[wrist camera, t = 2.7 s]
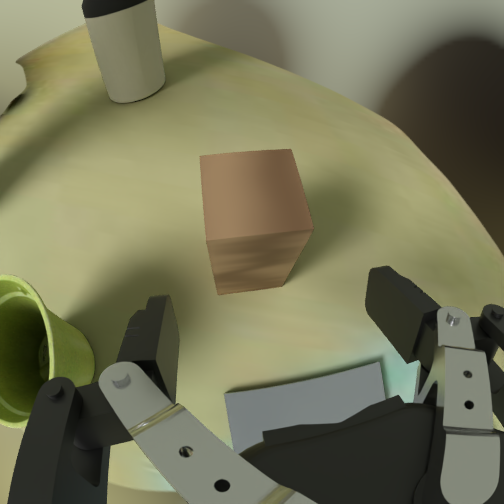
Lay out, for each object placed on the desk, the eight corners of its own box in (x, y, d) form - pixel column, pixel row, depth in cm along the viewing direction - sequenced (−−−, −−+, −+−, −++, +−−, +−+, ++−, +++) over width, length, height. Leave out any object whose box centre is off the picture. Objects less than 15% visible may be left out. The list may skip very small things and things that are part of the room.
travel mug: (149, 106, 30) (122, -28, 13) (98, 104, 30) (61, -11, 14) (175, 72, 33) (163, -44, 16) (127, 71, 33) (105, -32, 17)
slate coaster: (249, 522, 15) (249, 527, 14) (224, 392, 19) (224, 394, 19) (388, 485, 16) (392, 487, 15) (375, 362, 21) (379, 361, 20)
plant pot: (122, 316, 21) (66, 286, 13) (110, 429, 17) (51, 452, 9) (37, 297, 21) (-25, 265, 13) (24, 395, 17) (-42, 393, 9)
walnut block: (217, 294, 22) (206, 240, 13) (211, 236, 24) (199, 156, 15) (281, 286, 23) (314, 228, 13) (270, 229, 25) (291, 148, 15)
